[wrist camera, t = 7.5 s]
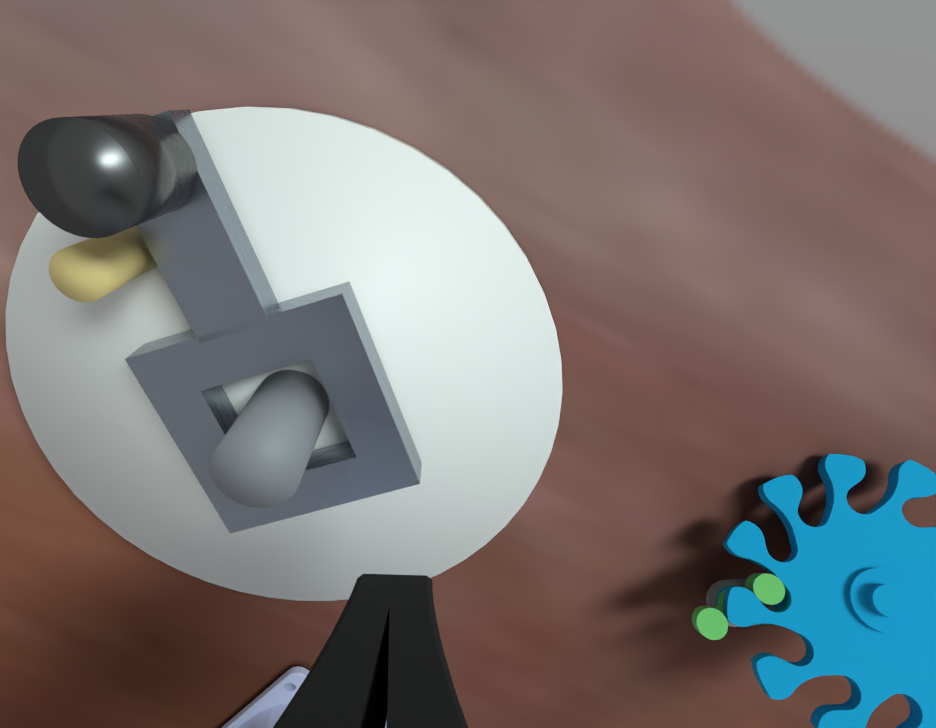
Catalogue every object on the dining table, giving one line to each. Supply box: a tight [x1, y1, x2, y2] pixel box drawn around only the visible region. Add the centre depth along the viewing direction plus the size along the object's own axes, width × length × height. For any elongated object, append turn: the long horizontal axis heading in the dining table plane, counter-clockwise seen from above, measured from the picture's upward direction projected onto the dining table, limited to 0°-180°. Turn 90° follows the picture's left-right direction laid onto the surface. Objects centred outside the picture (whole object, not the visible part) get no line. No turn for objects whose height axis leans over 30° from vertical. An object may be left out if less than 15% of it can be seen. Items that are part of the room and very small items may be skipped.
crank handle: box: [18, 110, 422, 533], centre depth 16 cm, size 13×7×4 cm, turn 17°
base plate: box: [6, 107, 562, 601], centre depth 18 cm, size 18×18×5 cm
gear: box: [692, 454, 936, 728], centre depth 22 cm, size 11×6×10 cm
